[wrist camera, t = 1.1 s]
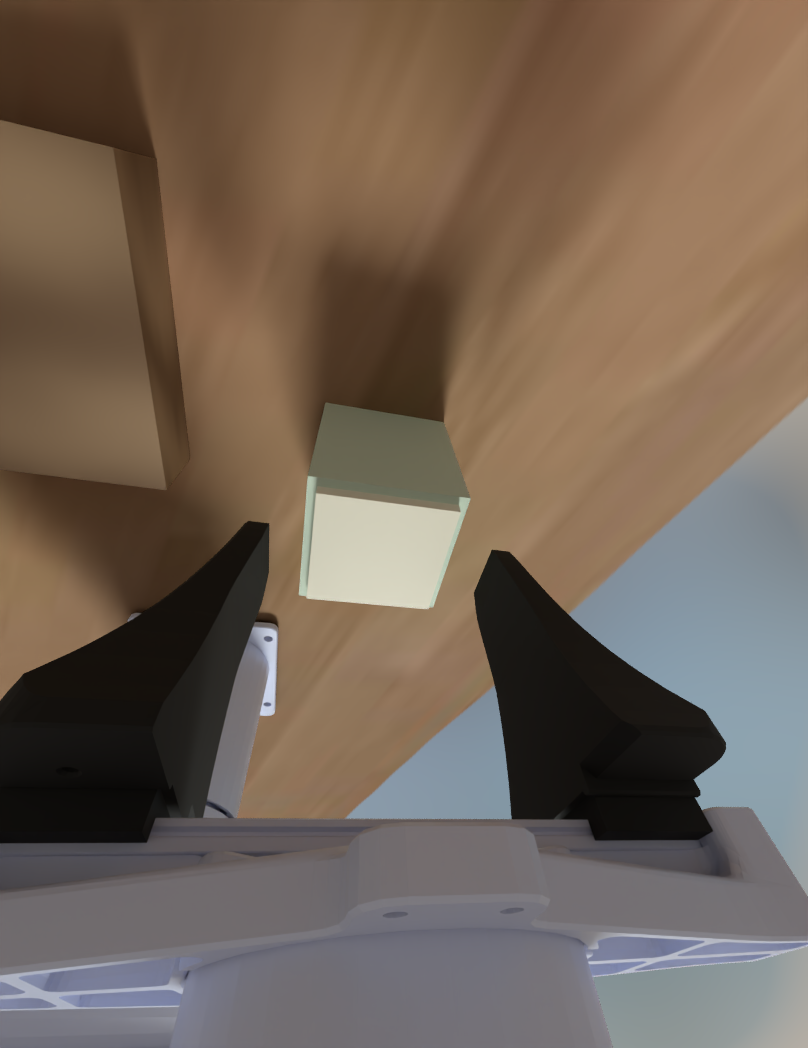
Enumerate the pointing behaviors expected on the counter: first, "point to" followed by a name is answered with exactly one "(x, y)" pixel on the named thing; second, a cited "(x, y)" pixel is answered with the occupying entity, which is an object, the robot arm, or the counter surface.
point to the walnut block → (86, 315)
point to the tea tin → (380, 509)
